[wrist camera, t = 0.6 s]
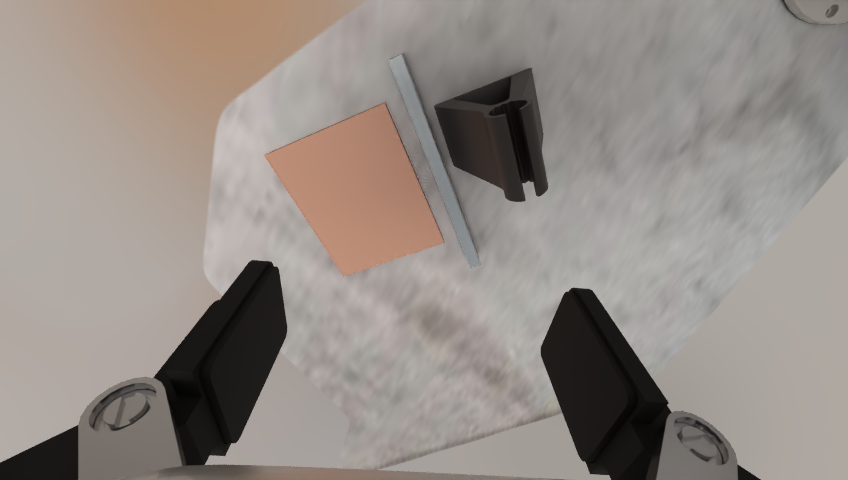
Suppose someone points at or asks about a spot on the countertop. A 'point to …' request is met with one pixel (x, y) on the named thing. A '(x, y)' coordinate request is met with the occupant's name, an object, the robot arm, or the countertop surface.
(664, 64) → the countertop surface
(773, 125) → the countertop surface
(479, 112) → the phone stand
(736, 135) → the countertop surface
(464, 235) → the acrylic wall
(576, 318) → the robot arm
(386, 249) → the mat
